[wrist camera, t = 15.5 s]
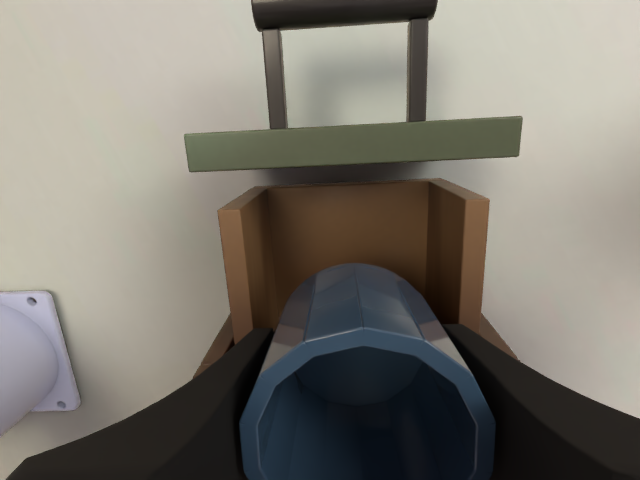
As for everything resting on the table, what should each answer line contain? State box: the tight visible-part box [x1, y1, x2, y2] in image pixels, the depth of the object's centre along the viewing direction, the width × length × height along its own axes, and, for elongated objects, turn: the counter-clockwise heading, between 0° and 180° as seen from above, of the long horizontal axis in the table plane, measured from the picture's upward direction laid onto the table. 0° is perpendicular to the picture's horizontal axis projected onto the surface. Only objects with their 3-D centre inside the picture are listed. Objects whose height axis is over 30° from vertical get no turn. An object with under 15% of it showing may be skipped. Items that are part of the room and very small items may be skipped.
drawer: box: [184, 0, 523, 345], centre depth 15 cm, size 17×10×6 cm, turn 3°
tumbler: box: [239, 263, 496, 480], centre depth 10 cm, size 5×5×5 cm
